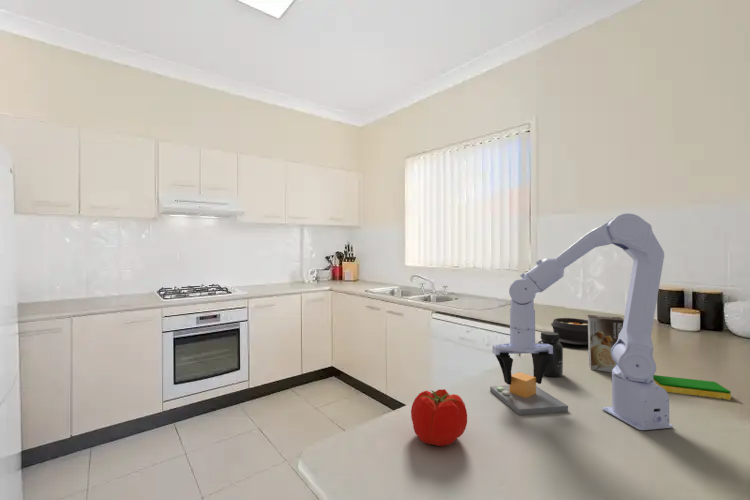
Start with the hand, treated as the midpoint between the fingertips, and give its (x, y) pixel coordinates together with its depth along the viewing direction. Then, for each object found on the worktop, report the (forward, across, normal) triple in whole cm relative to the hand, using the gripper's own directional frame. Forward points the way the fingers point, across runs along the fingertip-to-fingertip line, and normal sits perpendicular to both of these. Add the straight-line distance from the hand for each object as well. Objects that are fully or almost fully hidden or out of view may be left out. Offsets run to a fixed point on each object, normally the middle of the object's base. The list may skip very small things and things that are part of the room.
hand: (522, 382), depth 83 cm
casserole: (+4, +48, +51) cm, 70 cm away
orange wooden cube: (+2, 0, 0) cm, 3 cm away
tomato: (+4, -26, -17) cm, 31 cm away
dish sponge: (+4, +46, +2) cm, 46 cm away
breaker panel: (+4, 0, -2) cm, 4 cm away
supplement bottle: (+4, +17, +16) cm, 23 cm away
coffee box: (+4, +36, +19) cm, 41 cm away
